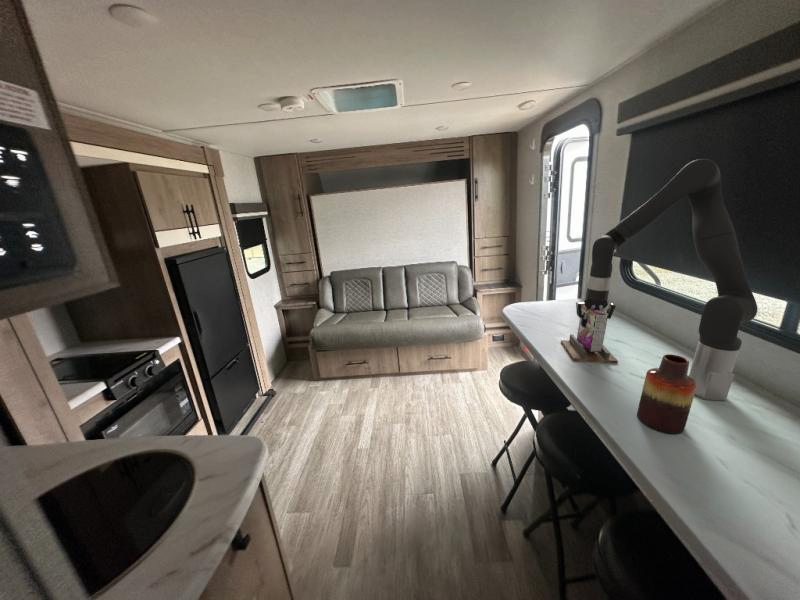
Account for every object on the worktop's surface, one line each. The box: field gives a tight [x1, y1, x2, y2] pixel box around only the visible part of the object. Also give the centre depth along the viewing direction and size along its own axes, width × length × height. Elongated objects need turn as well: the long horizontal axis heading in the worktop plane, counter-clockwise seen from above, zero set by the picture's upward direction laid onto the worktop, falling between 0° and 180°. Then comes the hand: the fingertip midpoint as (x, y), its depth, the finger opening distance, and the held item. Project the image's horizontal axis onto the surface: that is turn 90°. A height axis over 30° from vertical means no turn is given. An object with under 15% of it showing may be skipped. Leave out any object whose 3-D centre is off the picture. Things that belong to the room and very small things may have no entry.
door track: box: [560, 333, 619, 365], centre depth 132 cm, size 16×17×4 cm
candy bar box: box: [576, 305, 608, 352], centre depth 130 cm, size 11×5×16 cm, turn 178°
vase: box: [636, 353, 697, 435], centre depth 89 cm, size 11×11×20 cm
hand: (591, 327), depth 130 cm, fingers closed on candy bar box, 5 cm apart
